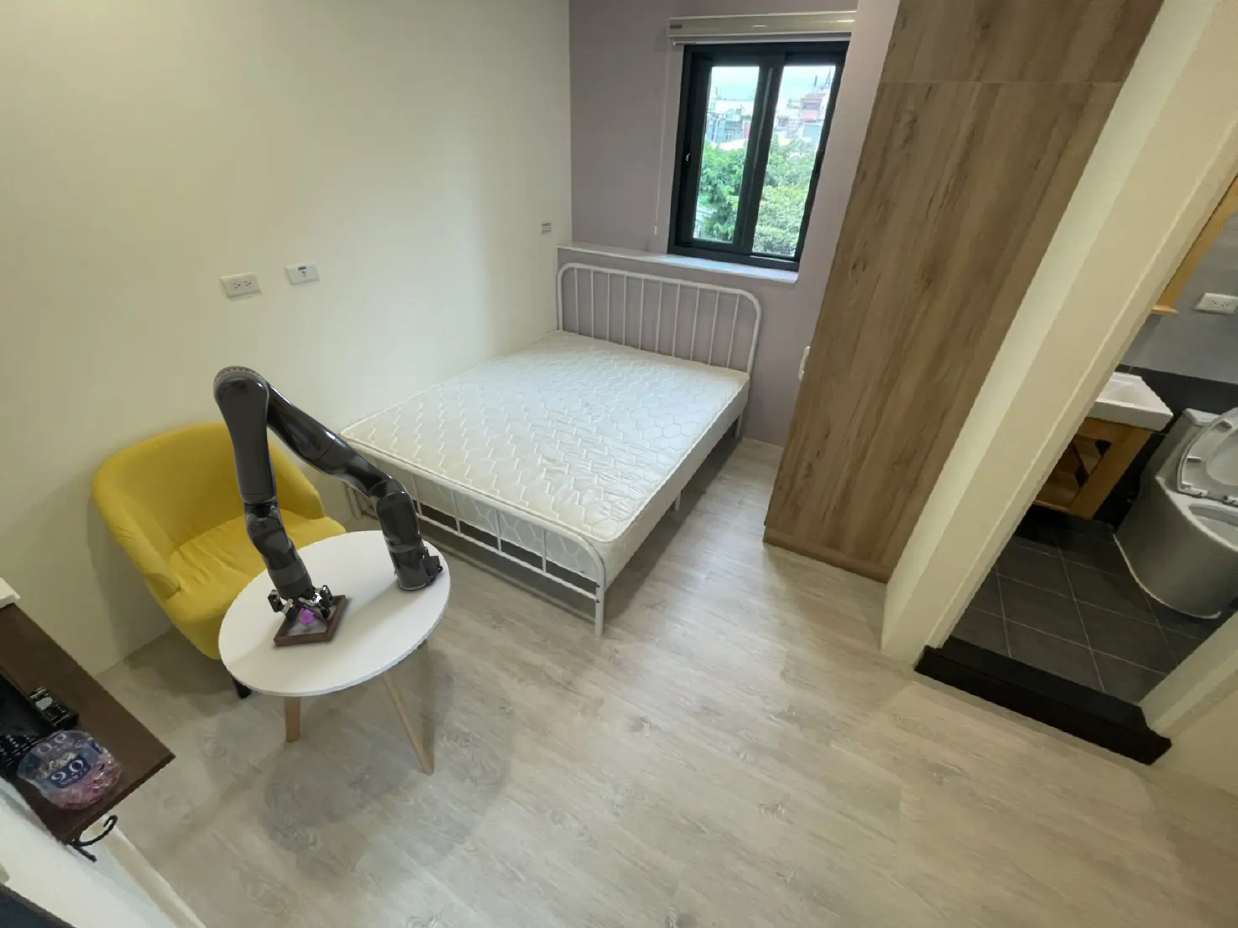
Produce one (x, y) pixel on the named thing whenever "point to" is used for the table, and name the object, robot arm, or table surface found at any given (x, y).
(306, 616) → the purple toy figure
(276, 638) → the brown square frame
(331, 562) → the table surface
